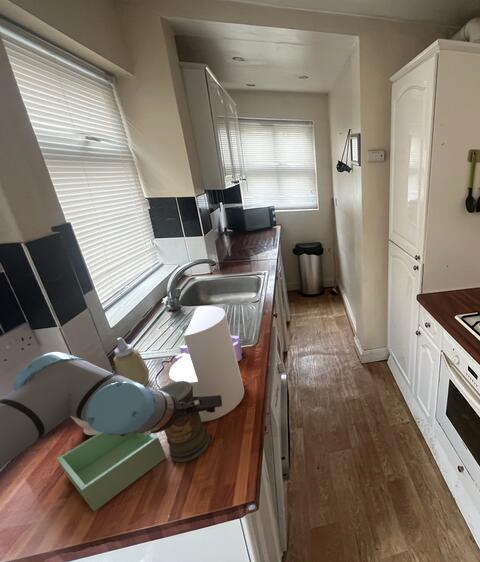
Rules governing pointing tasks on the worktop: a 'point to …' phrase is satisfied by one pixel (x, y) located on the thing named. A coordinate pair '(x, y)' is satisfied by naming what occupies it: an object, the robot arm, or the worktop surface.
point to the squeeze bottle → (130, 363)
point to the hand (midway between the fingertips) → (183, 415)
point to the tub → (110, 464)
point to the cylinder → (210, 361)
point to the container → (185, 427)
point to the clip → (235, 343)
